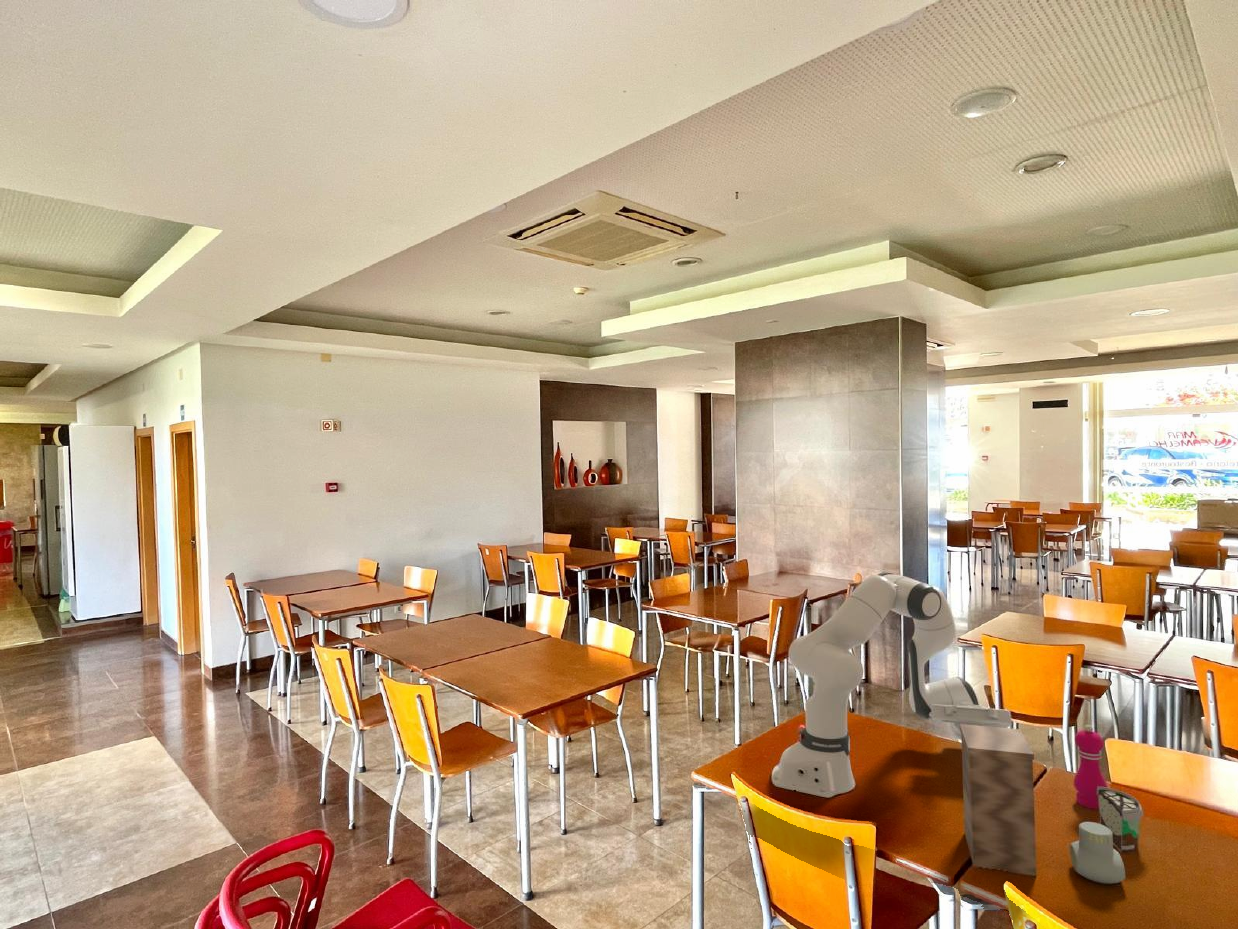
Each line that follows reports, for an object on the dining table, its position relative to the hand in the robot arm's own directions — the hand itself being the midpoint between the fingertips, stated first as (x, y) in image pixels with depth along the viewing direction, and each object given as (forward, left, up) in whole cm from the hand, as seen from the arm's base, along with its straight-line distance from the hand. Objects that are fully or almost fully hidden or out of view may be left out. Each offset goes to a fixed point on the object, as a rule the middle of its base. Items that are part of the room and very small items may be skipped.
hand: (972, 710), depth 187 cm
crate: (0, -36, -20) cm, 41 cm away
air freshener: (+18, -39, -20) cm, 47 cm away
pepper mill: (+26, -5, -20) cm, 33 cm away
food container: (+28, -23, -20) cm, 41 cm away
